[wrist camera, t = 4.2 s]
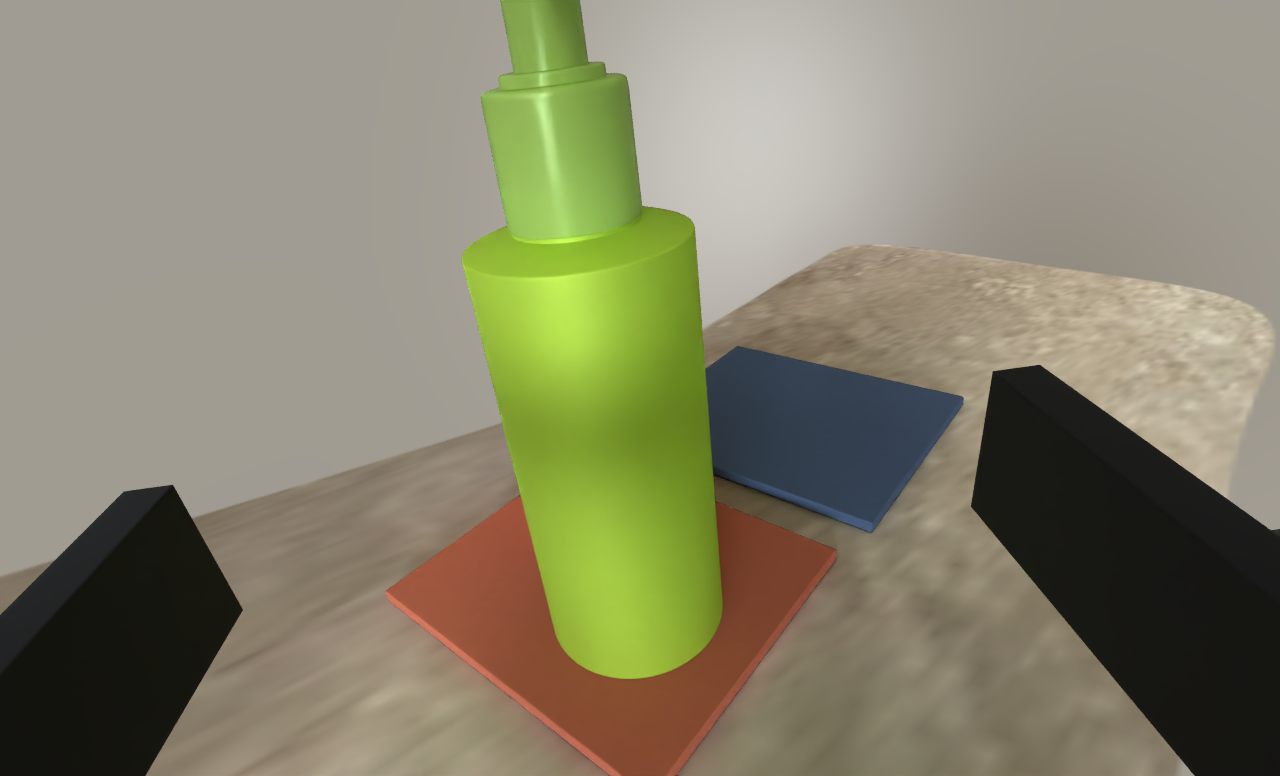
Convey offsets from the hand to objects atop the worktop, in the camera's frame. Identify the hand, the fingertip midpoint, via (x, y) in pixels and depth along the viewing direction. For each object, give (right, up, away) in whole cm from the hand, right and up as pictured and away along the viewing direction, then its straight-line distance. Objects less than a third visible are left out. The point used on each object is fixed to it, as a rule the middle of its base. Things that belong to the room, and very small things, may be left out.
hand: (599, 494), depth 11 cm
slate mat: (+8, 0, +22) cm, 23 cm away
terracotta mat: (-1, -5, +14) cm, 15 cm away
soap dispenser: (+1, -6, +12) cm, 13 cm away
